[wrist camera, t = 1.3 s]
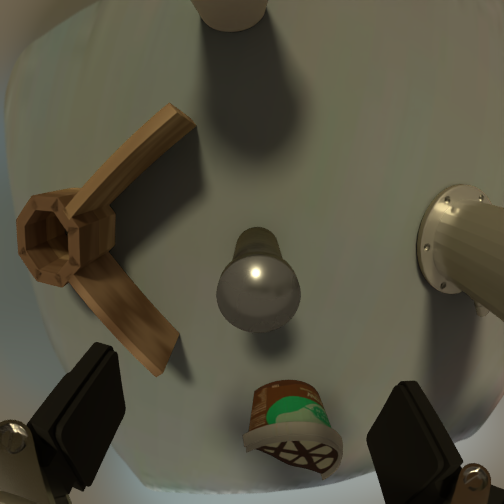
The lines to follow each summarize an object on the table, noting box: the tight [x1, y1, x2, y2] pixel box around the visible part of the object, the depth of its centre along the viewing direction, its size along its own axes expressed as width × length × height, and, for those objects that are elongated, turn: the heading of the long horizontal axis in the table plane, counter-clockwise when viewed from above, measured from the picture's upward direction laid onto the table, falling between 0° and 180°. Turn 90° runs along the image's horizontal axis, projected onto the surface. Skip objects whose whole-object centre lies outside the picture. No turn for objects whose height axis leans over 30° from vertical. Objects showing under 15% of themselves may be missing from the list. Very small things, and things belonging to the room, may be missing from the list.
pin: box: [216, 227, 301, 333], centre depth 23 cm, size 5×5×11 cm
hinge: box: [16, 103, 196, 377], centre depth 24 cm, size 20×20×7 cm
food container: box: [243, 380, 343, 480], centre depth 28 cm, size 12×6×10 cm, turn 50°
